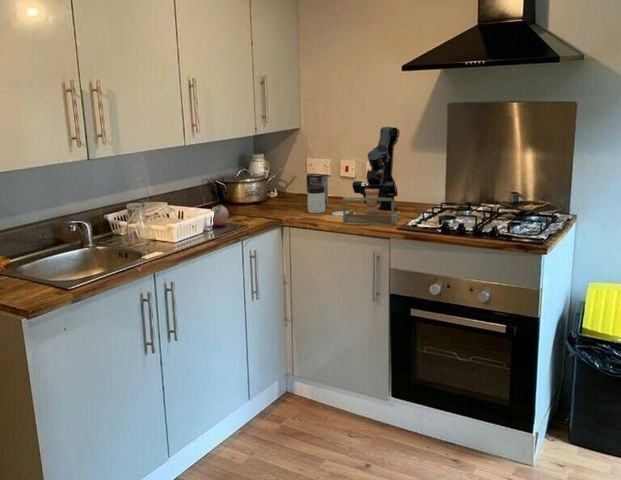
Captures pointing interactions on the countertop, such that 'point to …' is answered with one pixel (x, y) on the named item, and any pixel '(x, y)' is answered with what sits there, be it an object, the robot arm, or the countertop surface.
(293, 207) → the countertop surface
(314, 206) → the jar
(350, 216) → the box
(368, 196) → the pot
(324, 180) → the coffee box
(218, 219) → the decorative fruit
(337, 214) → the saucer
